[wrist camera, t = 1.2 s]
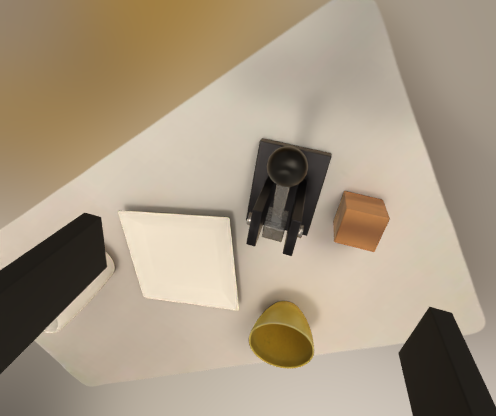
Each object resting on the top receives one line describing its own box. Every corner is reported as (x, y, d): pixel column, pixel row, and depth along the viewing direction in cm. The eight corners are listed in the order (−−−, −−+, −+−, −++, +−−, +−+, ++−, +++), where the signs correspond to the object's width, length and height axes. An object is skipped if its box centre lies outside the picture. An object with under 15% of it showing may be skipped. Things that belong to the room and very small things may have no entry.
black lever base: (261, 137, 38) (238, 170, 28) (331, 153, 37) (333, 192, 27) (248, 216, 44) (224, 265, 34) (307, 231, 43) (301, 287, 33)
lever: (274, 133, 23) (263, 164, 21) (314, 142, 23) (307, 174, 21) (263, 214, 34) (256, 239, 33) (290, 221, 34) (284, 246, 32)
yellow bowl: (249, 292, 51) (239, 326, 45) (306, 285, 48) (303, 320, 42) (268, 333, 55) (260, 369, 49) (322, 329, 52) (321, 367, 45)
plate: (241, 303, 53) (238, 311, 51) (148, 290, 57) (142, 298, 55) (232, 211, 44) (228, 218, 43) (123, 205, 49) (116, 211, 47)
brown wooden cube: (344, 190, 39) (346, 208, 35) (382, 199, 38) (390, 218, 34) (333, 222, 41) (333, 242, 37) (369, 230, 41) (374, 252, 36)
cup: (128, 263, 55) (72, 324, 43) (105, 281, 59) (48, 341, 47) (93, 230, 53) (23, 285, 41) (72, 251, 57) (3, 306, 45)
